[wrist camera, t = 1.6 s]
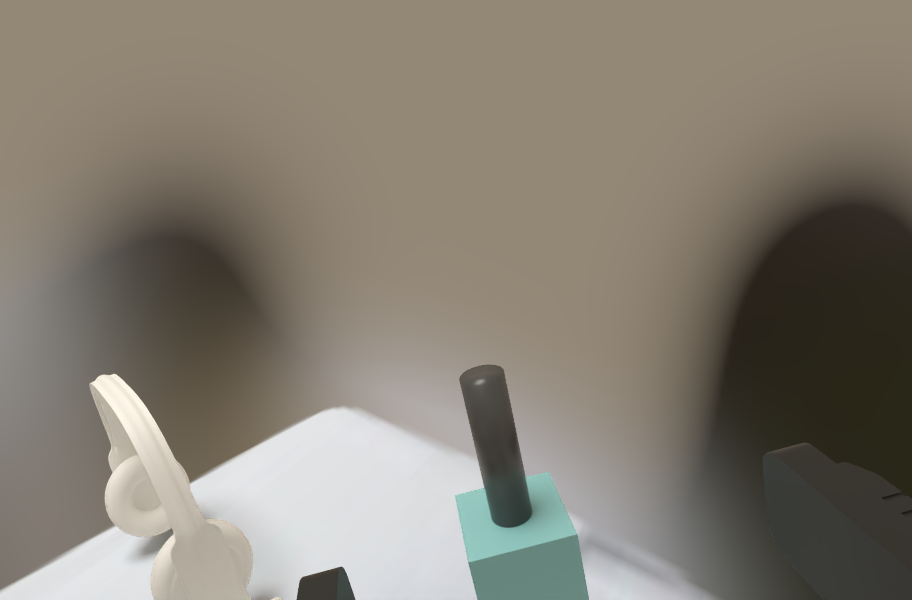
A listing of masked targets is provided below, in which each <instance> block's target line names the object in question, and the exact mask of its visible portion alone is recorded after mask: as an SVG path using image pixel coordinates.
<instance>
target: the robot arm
mask: <svg viewBox="0 0 912 600" xmlns="http://www.w3.org/2000/svg"><path fill="white" fill-rule="evenodd" d="M763 474H764V485H765V497H766V509H767V520H768V526H769V529H770V532H771V535H772V538H773V540H774V542H775V544H776V546H777V547H778V549H779V551H780V552H781V553H782V554H783V556H784V557H785V558H786V559H787V560H788V562H789V563H790V564H791V565H792V566H793V567H794V568H795V569H796V570H797V571H798V573H799V574H801V576H802V577H803V578H804V579H805V580H806V581H807V582H808V583H809V585H810V586H811V587H812V588H813V589H814V590H815V591H816V592H817V593H818V594H819V595H820V596H821V598H823V600H912V499H911V498H910V497H908V496H904V495H903V494H902V492H901V491H900V490H899V489H897V488H896V487H894V486H893V485H892V484H890V483H889V482H887V481H886V480H884V479H883V478H882V477H881V476H879V475H877V474H876V473H873V472H871V471H868V470H865V469H863V468H860V467H858V466H855V465H853V464H850V463H847V462H842V463H838V464H836V463H835V462H833V461H832V460H831V459H829V458H828V457H827V456H825V455H824V454H823V453H821V452H820V451H819V450H817V449H816V448H815V447H814V446H812V445H811V444H808V443H802V444H798V445H794V446H790V447H787V448H783V449H779V450H776V451H772V452H768V453H766V454H765V455H764V457H763ZM297 600H355V597H354V594H353V591H352V588H351V585H350V582H349V579H348V576H347V574H346V572H345V570H344V568H343V567H338V568H335V569H331V570H327V571H323V572H320V573H316V574H312V575H309V576H305V577H302V578H301V580H300V583H299V588H298V595H297Z"/></svg>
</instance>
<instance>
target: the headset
mask: <svg viewBox="0 0 912 600" xmlns="http://www.w3.org/2000/svg"><path fill="white" fill-rule="evenodd" d="M90 390H91V393H92V396H93V399H94V401H95V404H96V407H97V409H98V411H99V414H100V417H101V419H102V422H103V424H104V427H105V429H106V432H107V434H108V437H109V440H110V443H111V451H110V453H109V456H108V460H109V464H110V467H111V470H112V472H113V474H112V475H111V477H110V479H109V481H108V483H107V487H106V491H105V505H106V510H107V513H108V515H109V517H110V519H111V520H112V522H113V523H114V524H115V525H116V526H117V527H118V528H119V529H120V530H122V531H123V532H125V533H127V534H130V535H133V536H137V537H151V536H156V535H159V534H161V533H163V532H165V531H167V530H170V529H172V530H173V533H174V534H173V535H172V536H171V537H170V538H169V539H168V540H167V541H166V542H165V544H164V545H163V546H162V548H161V549H160V551H159V553H158V555H157V557H156V559H155V562H154V564H153V568H152V573H151V590H152V594H153V597H154V600H252V599H251V598H250V596H249V595H248V593H247V591H246V588H247V586H248V583H249V581H250V578H251V574H252V568H253V555H252V550H251V546H250V544H249V542H248V540H247V538H246V536H245V535H244V534H243V532H242V531H241V530H239V529H238V528H237V527H236V526H234V525H233V524H231V523H228V522H226V521H223V520H217V519H206V520H205V519H204V517H203V515H202V514H201V512H200V510H199V508H198V506H197V504H196V501H195V499H194V497H193V495H192V493H191V491H190V483H189V479H188V477H187V474H186V472H185V471H184V469H183V467H182V466H181V465H180V464H179V463H178V462H177V461H176V460H175V458H174V456H173V454H172V452H171V450H170V448H169V446H168V444H167V442H166V440H165V439H164V437H163V435H162V433H161V431H160V429H159V427H158V426H157V424H156V422H155V421H154V419H153V417H152V416H151V414H150V412H149V411H148V409H147V408H146V406H145V405H144V404H143V402H142V401H141V400H140V398H139V397H138V396H137V395H136V393H135V392H134V391H133V390H132V389H131V388H130V387H129V386H128V385H127V384H126V383H125V382H124V381H123V380H122V379H121V378H120V377H119V376H117V375H116V374H112V375H101V376H99V377H98V378H97V379H96V380H95V381H94V382H92V383H90ZM271 600H282V599H281V598H279V597H277V598H274V599H271Z"/></svg>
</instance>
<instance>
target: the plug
mask: <svg viewBox="0 0 912 600" xmlns="http://www.w3.org/2000/svg"><path fill="white" fill-rule="evenodd" d="M460 384H461V388H462V393H463V397H464V401H465V406H466V410H467V414H468V419H469V423H470V427H471V432H472V436H473V440H474V445H475V449H476V453H477V458H478V462H479V466H480V471H481V475H482V479H483V484H484V488H483V489H479V490H475V491H471V492H467V493H463V494H459V495H455V498H456V503H457V508H458V513H459V518H460V523H461V528H462V533H463V538H464V543H465V548H466V553H467V558H468V563H469V567H470V571H471V575H472V579H473V583H474V587H475V591H476V595H477V599H478V600H589V597H588V591H587V586H586V580H585V574H584V569H583V563H582V558H581V552H580V547H579V541H578V535H577V533H576V530H575V528H574V526H573V524H572V522H571V520H570V517H569V515H568V513H567V511H566V509H565V507H564V504H563V502H562V500H561V498H560V496H559V493H558V491H557V489H556V487H555V485H554V483H553V480H552V478H551V476H550V474H549V472H546V473H542V474H538V475H534V476H530V477H525V472H524V467H523V463H522V458H521V453H520V448H519V443H518V438H517V433H516V428H515V423H514V418H513V414H512V409H511V404H510V399H509V394H508V389H507V384H506V379H505V375H504V370H503V369H502V368H501V367H500V366H496V365H481V366H477V367H474V368H471V369H469V370H467V371H465V372H464V373H463V374H462V375H461V376H460Z"/></svg>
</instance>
